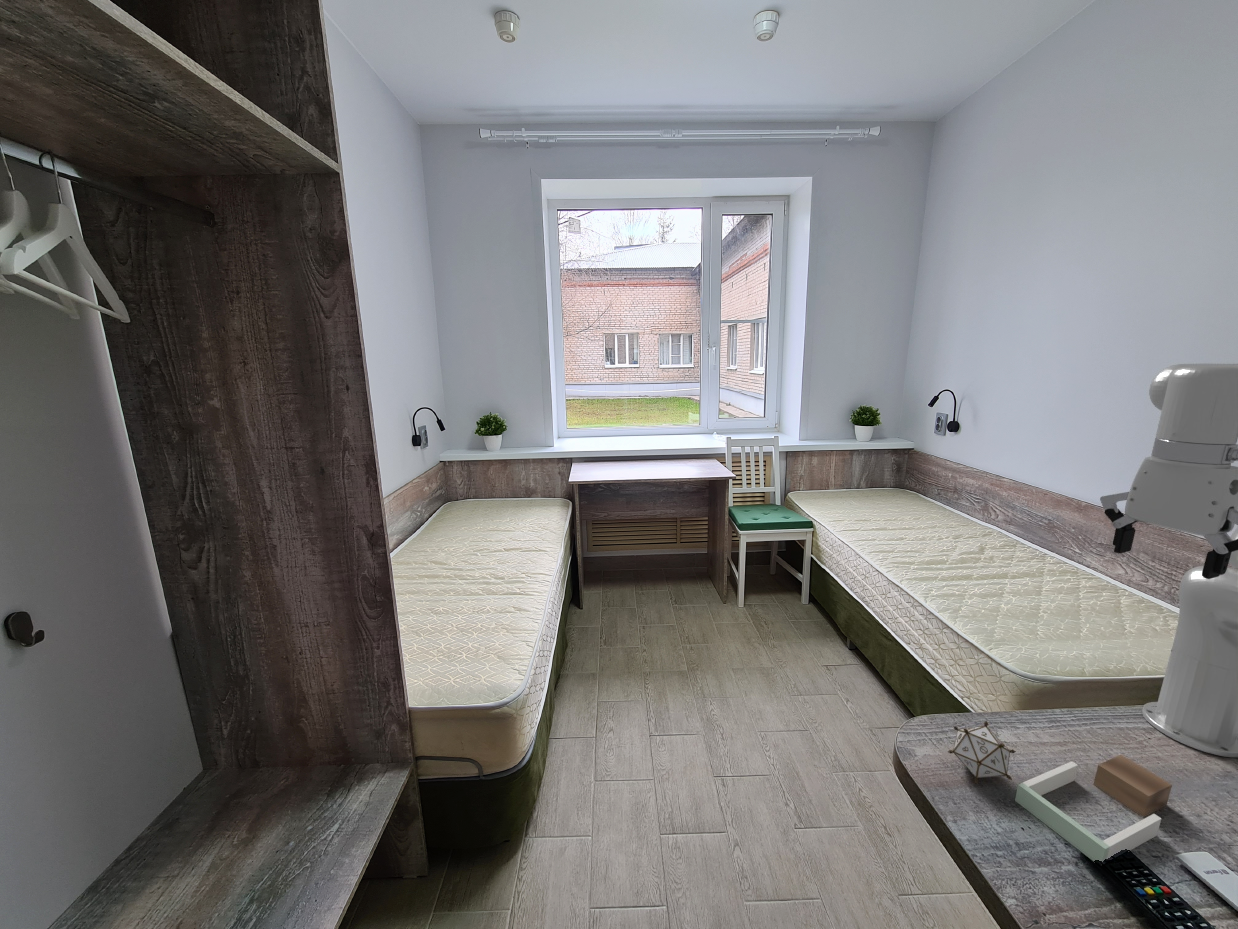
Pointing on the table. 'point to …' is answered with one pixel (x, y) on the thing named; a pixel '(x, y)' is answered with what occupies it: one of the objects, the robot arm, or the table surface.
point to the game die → (981, 752)
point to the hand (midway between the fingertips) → (1163, 563)
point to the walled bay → (1069, 828)
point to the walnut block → (1132, 785)
